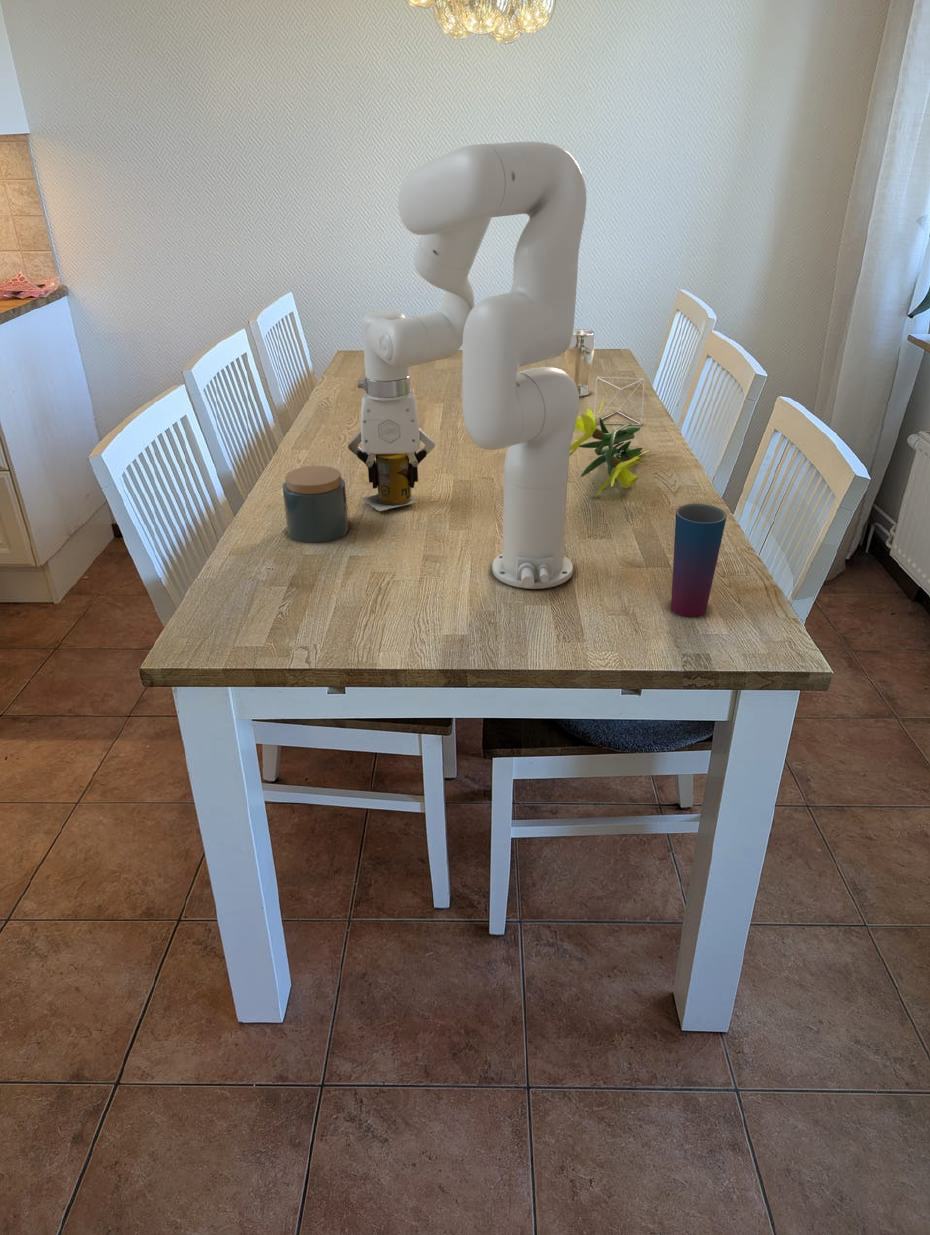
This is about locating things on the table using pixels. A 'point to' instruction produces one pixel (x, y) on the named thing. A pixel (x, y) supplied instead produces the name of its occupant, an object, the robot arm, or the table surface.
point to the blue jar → (315, 504)
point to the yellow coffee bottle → (391, 482)
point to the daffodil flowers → (611, 454)
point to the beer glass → (580, 359)
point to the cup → (695, 556)
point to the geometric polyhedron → (616, 395)
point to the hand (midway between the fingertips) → (393, 484)
